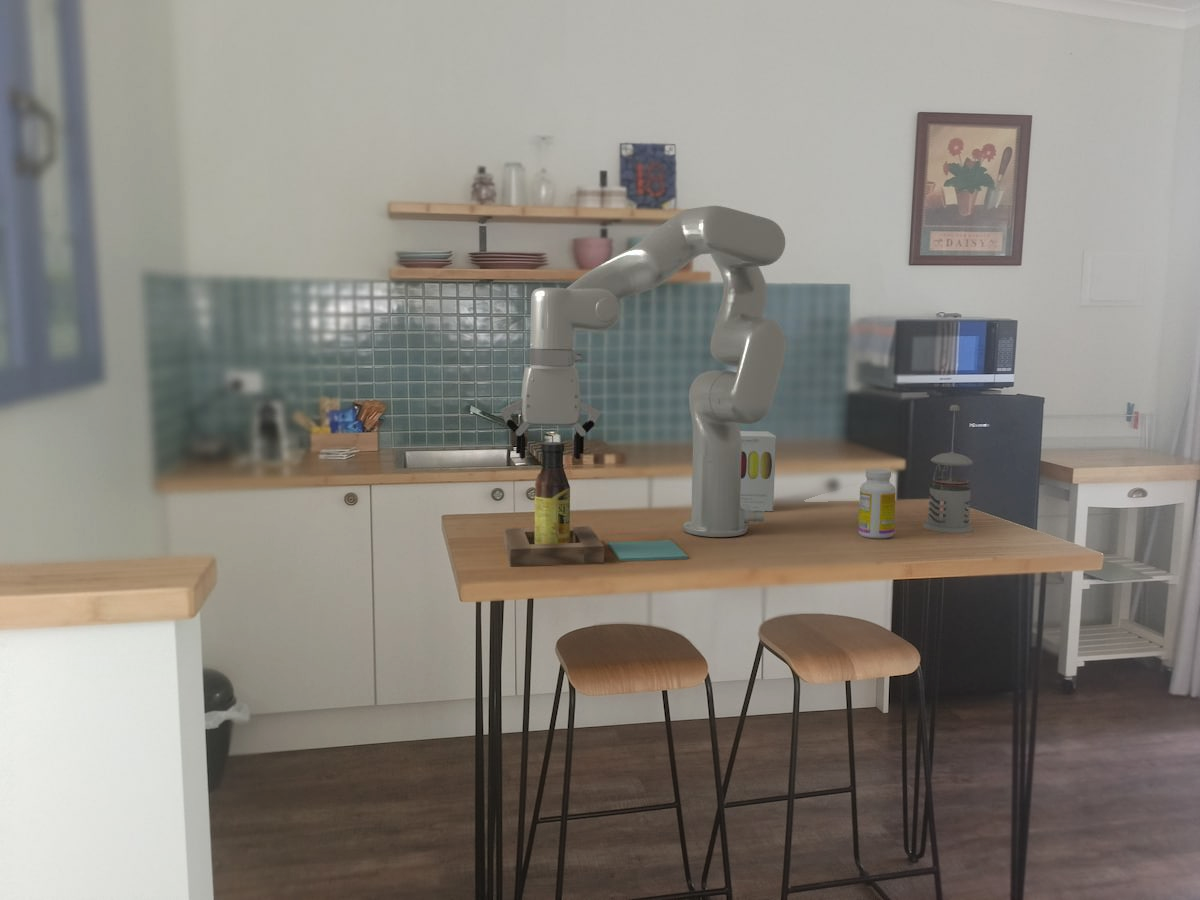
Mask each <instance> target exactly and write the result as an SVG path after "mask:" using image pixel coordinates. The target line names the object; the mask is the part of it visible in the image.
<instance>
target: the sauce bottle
mask: <svg viewBox="0 0 1200 900" xmlns="http://www.w3.org/2000/svg"><path fill="white" fill-rule="evenodd" d="M540 446H541V447H540V450H541V470H540V473H539V474H537V477H536V479H535V484H534V485H535V486H534V487H535V490H534V493H535V494H534V528H535V544H559V543H570V527H571V526H570V525H571V524H570V523H571V487H570V483H569V480H568V477H567V474H566V472H565V468H564V466H565V465H564V451H565V444H564V442H560V441H553V442H552V441H548V442H547V441H546V442H541V444H540Z"/></svg>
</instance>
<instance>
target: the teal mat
mask: <svg viewBox="0 0 1200 900" xmlns="http://www.w3.org/2000/svg"><path fill="white" fill-rule="evenodd" d="M607 546H608V547H609V548H610V549H611V551H612V552H613V553H614V555H615V557H616V558H617V559H618V560H619V561H620V562H639V561H669V560H670V561H671V560H688V559H689V557H688V555H687V554H686V553H685V552H684V551H683V550H682V549H681V548H680V547H679V546H678V545H677V544H675V542H674V541H672V540H654V541H653V540H649V541H618V542H616V541H615V542H613V541H612V542H611V541H610V542H608V545H607Z"/></svg>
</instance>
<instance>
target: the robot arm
mask: <svg viewBox="0 0 1200 900" xmlns="http://www.w3.org/2000/svg"><path fill="white" fill-rule="evenodd" d="M785 248H786V236H785V232H784V231H783V229H782V228H781V226H780V225H779V223H776V221H774V220H772V219H770V218H766V217H764V216H760V215H755V214H752V213H748V212H745V211H742V210H741V211H740V210H737V209H734V208H730V207H725V206H722V205H706V206H699V207H693V208H686V209H684V210H682V211H680V212H678V213H676V214H675V215H673V216H672V217H671V218H670V219H668V220H666V221H665V222H664V223H663V224H662V225H660V226H659V227H658V228H655V230H654V231H653V232H651V233H649V235H647V236H645V237H644V238H643V239H642V240H640V241H639V242H638V243H637V244H635V245H634V246H632V247H630V248H629V249H627V250H625V251H623V252H620V253H619V254H618V255H616V256H615V257H612V258H611V259H609V260H607V261H604V262H603V263H601V264H600V265H598V266H596V267H594V268H592V269H591V270H589V271H588V272H586V273H585V274H583V275H582V276H580V277H579V278H578V279H577V280H575V281H574V282H573V283H571V284H570V285H568V287H566V288H564V287H563V288H562V287H538V288H536V289H533V291H532V293H531V296H530V331H529V332H530V334H529V335H530V337H529V339H530V341H529V343H530V344H529V348H530V349H529V366H526V367H525V368H524V372H523V377H522V385H521V396H520V398H521V399H520V400H517V401H515V402H514V403H512V404H509V405H507V406H506V407H503V408H501V410H500V413H501V416H502V418H503V420H504V422H505V423H506V426H507V427H508V428H510V430H511V431H512V432H513V433H514V434H515V441H516V442H515V447H516V448H515V453H516V454H519V458H520V459H521V460H525V459H526V436H525V432H526V430H527V429H528V428H529V427H530V426H571V427H572V428H573V429H574V431H575V434H574V436H573V457H574V458H575V459H576V460H580V459H581V454H582V455H583V454H584V447H585V445H584V441H585V440H584V439H585V436H586V434H588V432H590V431H591V429H593V428H594V426H595V424H596V422H597V421H598V418H599V417H600V414H601V412H600V411H599V410H598V409H597V408H595V407H593V406H591V405H589V404H587V403H585V402H583V401H581V395H580V394H581V393H580V391H581V390H580V384H579V383H580V382H579V381H580V380H579V374H578V370H577V368H576V367H574V366H575V364H576V363H578V362H582V361H583V359H582V358H583V356H582V354H581V353H577V352H576V351H575V350H574V347H575V346H574V343H575V341H574V339H575V332H590V333H593V332H595V333H596V332H597V333H599V332H605V331H608V330H610V329H612V328H613V327H614V326H615V325H616V324H618V323H619V320H620V318H621V317H622V305H621V302H620V300H622V299H624V298H627V297H630V296H634V295H638V294H641V293H644V292H648V291H650V290H653V289H656V288H658V287H660V286H661V285H663V284H664V283H665V282H667V281H668V280H669V279H670V278H672V277H673V276H674V275H676V273H678V272H679V271H680V270H682V269H683V268H684V267H685V266H686V265H688V264H689V263H690V262H692V261H693V260H694V259H696V258H697V257H699V256H701V255H710V256H711V258H712V260H713V261H714V263H715V265H716V267H717V269H718V270H719V273H720V275H721V278H722V282H723V292H722V299H721V303H720V305H719V306H720V307H719V310H718V314H717V317H716V320H715V324H714V327H713V331H712V335H711V338H710V339H711V340H710V343H709V344H710V345H709V346H710V347H709V348H710V354H711V356H712V358H713V359H714V360H715V361H717V362H718V363H720V364H723V365H726V366H731V367H737V370H736V371H733V370H732V371H731V370H714V369H713V370H708V371H704V372H702V373H700V374H699V375H698V376H696V377H695V378H694V380H693V382H692V383H691V385H690V387H689V392H688V404H689V411H690V414H691V415H690V416H691V422H692V465H691V467H692V469H691V470H692V472H691V515H690V516H691V517H690V519H691V520H688V521H685V522H684V523H683V526H682V527H683V528H682V529H683V531H685V533H687V534H690V535H693V536H699V537H707V538H728V537H729V538H732V537H733V538H734V537H738V536H742V535H745V534H747V532H748V525H747V524H749V522H754V523H757V522H765V521H764V520H765V514H764V513H765V512H753V511H745V510H744V509H742V508H740V493H741V456H742V439H741V434H740V431H741V429H740V427H739V424H744V425H749V424H750V425H751V424H757V423H758V422H760V421H761V420H762V419H764V418H765V416H766V415H767V414H768V411H769V410H770V408H771V406H772V404H773V403H772V402H773V399H774V396H775V394H776V389H777V386H778V383H779V379H780V374H781V372H782V368H783V365H784V361H785V356H786V351H787V342H786V336H785V335H786V334H785V332H784V330H783V328H782V326H781V325H780V324H779V322H777V321H776V320H774V319H772V318H769V317H765V316H764V314H765V311H766V310H765V308H766V304H767V300H768V288H767V287H768V286H767V283H766V280H765V277H764V275H763V272H762V271H761V268H760V267H765V266H770V265H773V264H774V263H776V262H778V260H779V259H781V257H782V256H783V253H784V252H785ZM518 410H520V418H521V421H520V422H519V423H518V424H517V423H515V421H514V420H513V419H512V417H511V416H512V415H511V414H512V413H514V412H517V411H518ZM581 410H582V411H584V412H586V413H588V414H589V416H588V419H587V421H585V422H584V424H582V425H581V423H580V419H581Z"/></svg>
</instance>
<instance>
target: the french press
mask: <svg viewBox="0 0 1200 900" xmlns="http://www.w3.org/2000/svg"><path fill="white" fill-rule="evenodd" d="M949 411H951V412H952V411H953V420H952V421H953V423H952V435H951V436H952V437H951V451H950V452H945V453H940V454H936V455H935V456H933V457H932V458H930V461H931V462H932V463H933V464H935V465H936V467H935V470H934V472H933V478H932V479H931V482H932V485H930V486H929V494H930V495H928V496H929V497H928V499H929V501H928V506H929V507H928V513H927V514H928V515H927V516H928V517H927V521H926V522H925V523H924V524H922V525H921V526H922V528H924V529H925V530H926V529H927V530H929V531H935V532H939V533H946V534H947V533H948V534H949V533H952V534H962V533H963V534H964V533H971V532H973V531H974V528H973V527H972V526H971V525H970V524H969V523H970V521H969V519H970V509H971V508H970V506H971V493H972V491H971V488H970V487H967V486H966V485H969V483H970V481H969V480H968V479H965V478H959V477H957V478H956V477H952V471H953V468H952V467H953V466H954V467H966V466H967V467H968V466H972V465H973V464H974V461H973V460H972V459H970V458H969V457H968V456H966V455H963V454H960V453H957V452H954V434H955V420H956V417H955V416H956V412H959V411H961V410H960V405H959V404H952V405H950V407H949ZM941 465H942V466H943V469H941ZM949 466H950V469H949ZM937 470H939V471H940V472H941V476H938V477H936V473H937ZM948 470H949V472H950V473H949V477H948V476H947V477H946V476H945V477H944V472H945V473H946V472H947V471H948ZM943 485H944V487H943ZM941 502H943V504H941ZM940 509H942V510H940ZM940 515H942V516H940Z"/></svg>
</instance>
